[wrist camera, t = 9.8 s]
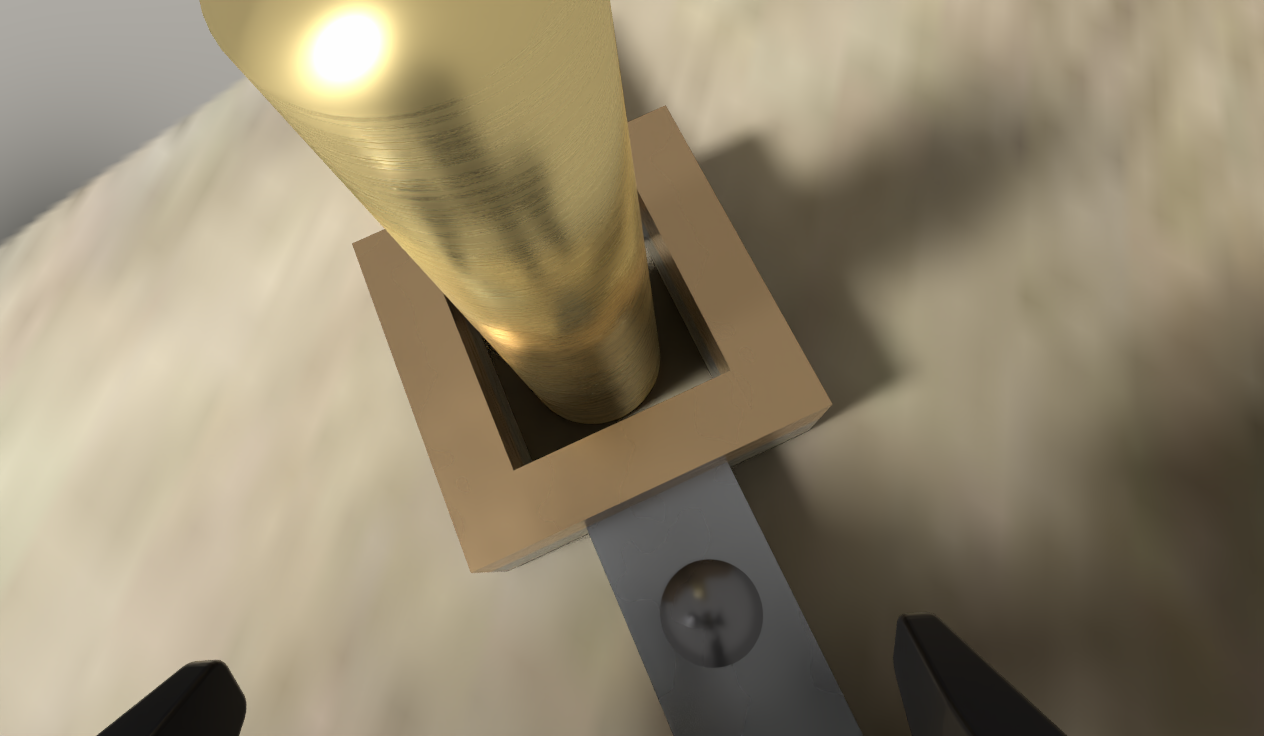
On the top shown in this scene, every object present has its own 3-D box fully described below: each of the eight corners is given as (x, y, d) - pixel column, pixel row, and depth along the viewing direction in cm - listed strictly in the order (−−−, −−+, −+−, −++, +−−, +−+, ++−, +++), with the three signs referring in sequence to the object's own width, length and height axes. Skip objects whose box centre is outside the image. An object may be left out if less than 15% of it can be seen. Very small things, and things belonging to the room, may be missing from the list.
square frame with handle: (1029, 837, 15) (1125, 914, 11) (675, 1015, 14) (670, 1148, 11) (590, 26, 21) (572, -70, 18) (342, 133, 21) (279, 55, 18)
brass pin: (682, 388, 18) (665, -3, 6) (558, 446, 18) (254, 176, 5) (626, 275, 19) (506, -269, 7) (508, 328, 19) (158, -125, 6)
